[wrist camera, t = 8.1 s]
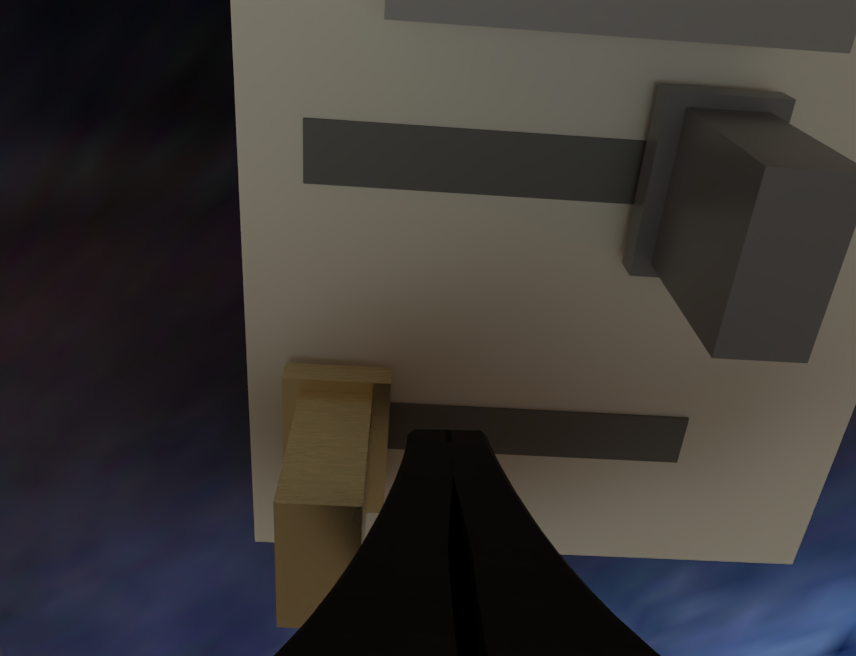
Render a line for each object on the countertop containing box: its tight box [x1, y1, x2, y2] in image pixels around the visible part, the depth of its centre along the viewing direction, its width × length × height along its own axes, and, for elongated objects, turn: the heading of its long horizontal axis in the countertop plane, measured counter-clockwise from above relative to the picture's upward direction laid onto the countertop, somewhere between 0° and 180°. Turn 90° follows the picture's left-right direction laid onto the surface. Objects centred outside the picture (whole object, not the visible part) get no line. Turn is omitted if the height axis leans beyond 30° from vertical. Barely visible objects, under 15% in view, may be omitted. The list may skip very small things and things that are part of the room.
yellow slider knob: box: [273, 363, 392, 628], centre depth 13 cm, size 3×2×3 cm, turn 176°
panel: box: [230, 0, 856, 564], centre depth 12 cm, size 16×11×4 cm
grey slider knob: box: [622, 83, 856, 363], centre depth 10 cm, size 3×2×3 cm, turn 176°
